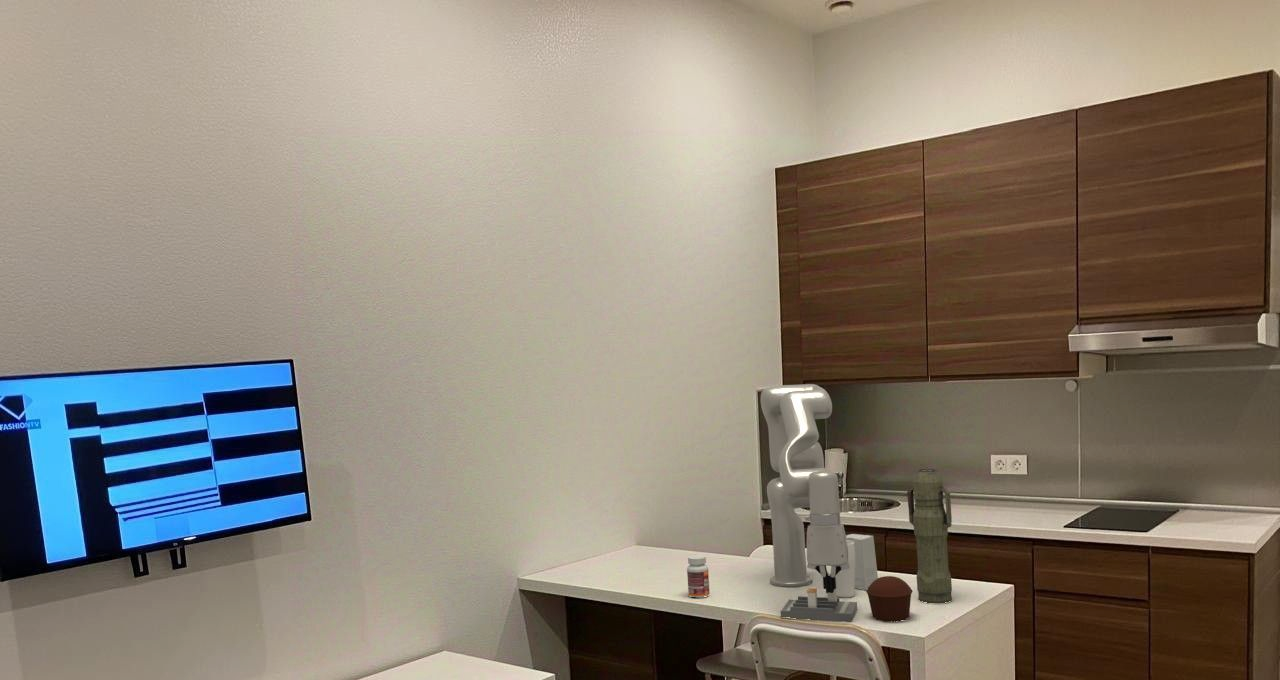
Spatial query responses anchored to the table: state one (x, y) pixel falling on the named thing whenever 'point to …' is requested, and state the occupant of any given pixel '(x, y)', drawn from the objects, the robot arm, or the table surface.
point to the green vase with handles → (931, 535)
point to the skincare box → (864, 560)
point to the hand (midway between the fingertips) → (830, 591)
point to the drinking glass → (847, 575)
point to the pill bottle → (697, 576)
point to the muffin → (889, 599)
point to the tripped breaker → (812, 597)
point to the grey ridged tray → (821, 609)
